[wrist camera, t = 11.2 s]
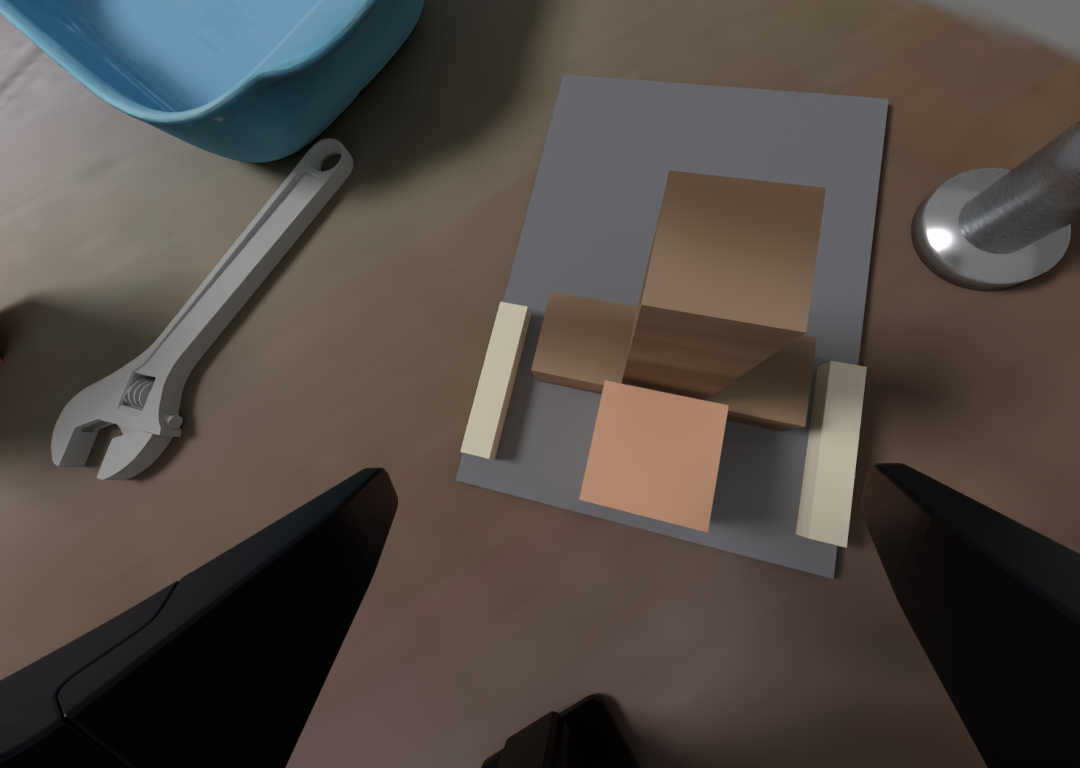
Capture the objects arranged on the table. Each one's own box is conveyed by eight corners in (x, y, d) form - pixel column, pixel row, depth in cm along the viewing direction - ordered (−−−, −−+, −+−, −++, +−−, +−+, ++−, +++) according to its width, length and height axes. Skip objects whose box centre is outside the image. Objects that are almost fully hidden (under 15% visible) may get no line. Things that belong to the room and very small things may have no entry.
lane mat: (828, 576, 19) (849, 586, 17) (458, 480, 22) (447, 480, 21) (883, 105, 23) (904, 79, 22) (563, 80, 26) (561, 55, 25)
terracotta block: (686, 520, 20) (707, 532, 16) (582, 494, 21) (579, 499, 17) (704, 417, 21) (728, 405, 17) (603, 396, 22) (604, 380, 18)
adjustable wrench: (338, 148, 28) (321, 127, 27) (404, 196, 27) (391, 177, 25) (70, 436, 26) (33, 434, 25) (124, 506, 25) (90, 508, 23)
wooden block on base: (780, 431, 20) (1028, 379, 9) (538, 381, 22) (472, 283, 11) (791, 352, 21) (1037, 203, 9) (555, 310, 23) (510, 145, 11)
